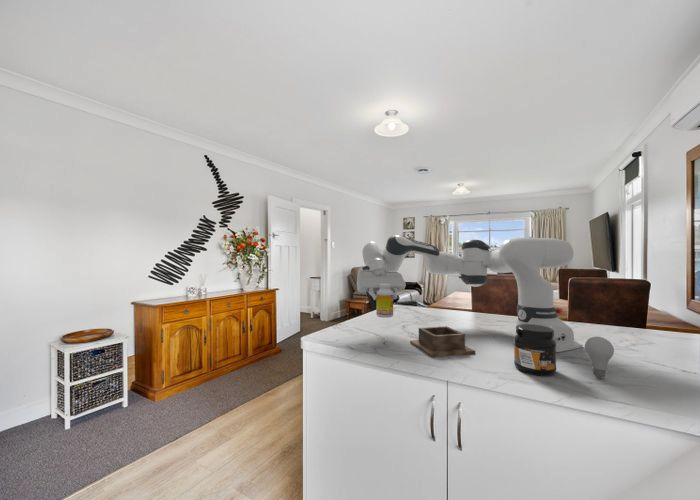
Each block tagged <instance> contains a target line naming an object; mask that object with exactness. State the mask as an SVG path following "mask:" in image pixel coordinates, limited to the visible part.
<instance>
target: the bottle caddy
mask: <svg viewBox="0 0 700 500" xmlns="http://www.w3.org/2000/svg"><path fill="white" fill-rule="evenodd" d="M409 343H410V345H412V346H414V347H415V348H416V349H418V350H419V351H421V352H422V353H424V354H426V355H427V356H429V357H430V358H431V359H432V358H442V357H452V356H453V357H454V356H467V355H476V350H475V349H473V348H471V347H468V346H466V334H465V333H464V332H461V331H458V330H456V329H454V328H451V327H449V326H446V325H445V326H434V327H433V326H431V327H430V326H428V327H418V339H414V340H409Z"/></svg>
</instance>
